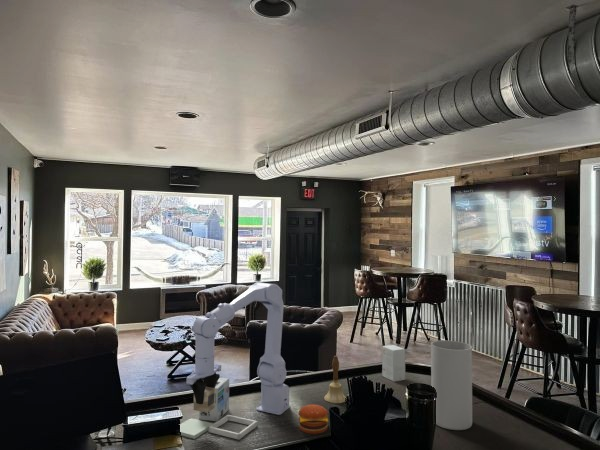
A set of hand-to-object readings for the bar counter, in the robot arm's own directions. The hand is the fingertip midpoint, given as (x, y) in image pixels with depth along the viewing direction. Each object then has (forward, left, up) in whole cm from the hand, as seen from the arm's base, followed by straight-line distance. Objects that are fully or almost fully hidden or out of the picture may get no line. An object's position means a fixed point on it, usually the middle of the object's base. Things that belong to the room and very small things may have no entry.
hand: (204, 400), depth 130 cm
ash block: (0, 0, -2) cm, 2 cm away
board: (+4, 0, -9) cm, 10 cm away
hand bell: (-27, -43, -10) cm, 51 cm away
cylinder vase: (-68, -41, -10) cm, 80 cm away
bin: (-7, -6, -10) cm, 13 cm away
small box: (-41, -76, -10) cm, 86 cm away
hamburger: (-29, -18, -10) cm, 35 cm away
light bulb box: (+5, -12, -10) cm, 16 cm away
